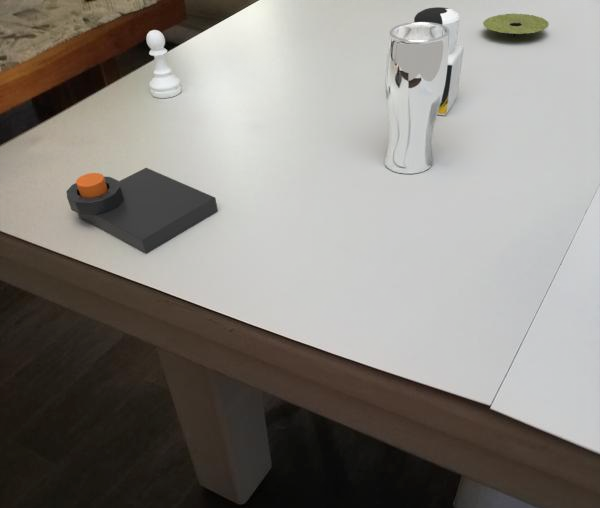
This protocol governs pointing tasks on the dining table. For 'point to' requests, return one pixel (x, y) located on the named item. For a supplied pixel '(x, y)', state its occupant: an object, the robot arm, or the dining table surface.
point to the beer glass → (414, 92)
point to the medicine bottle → (454, 54)
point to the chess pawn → (161, 68)
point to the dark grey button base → (144, 208)
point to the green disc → (516, 23)
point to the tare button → (91, 185)
